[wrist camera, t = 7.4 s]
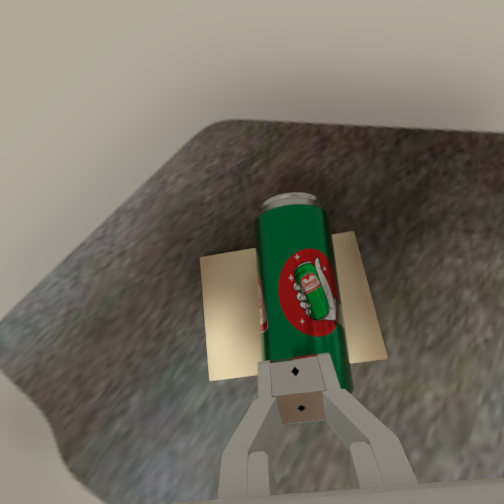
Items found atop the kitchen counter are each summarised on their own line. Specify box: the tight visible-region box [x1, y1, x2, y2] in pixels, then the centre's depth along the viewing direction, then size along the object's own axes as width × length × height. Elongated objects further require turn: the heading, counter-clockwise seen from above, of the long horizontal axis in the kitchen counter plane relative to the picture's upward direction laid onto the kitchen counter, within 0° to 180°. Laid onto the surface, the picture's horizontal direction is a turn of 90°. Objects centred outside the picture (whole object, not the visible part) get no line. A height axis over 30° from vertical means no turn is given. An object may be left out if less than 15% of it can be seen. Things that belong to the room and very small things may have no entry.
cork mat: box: [200, 231, 388, 381], centre depth 19 cm, size 12×9×1 cm
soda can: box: [254, 192, 353, 394], centre depth 17 cm, size 5×5×12 cm
